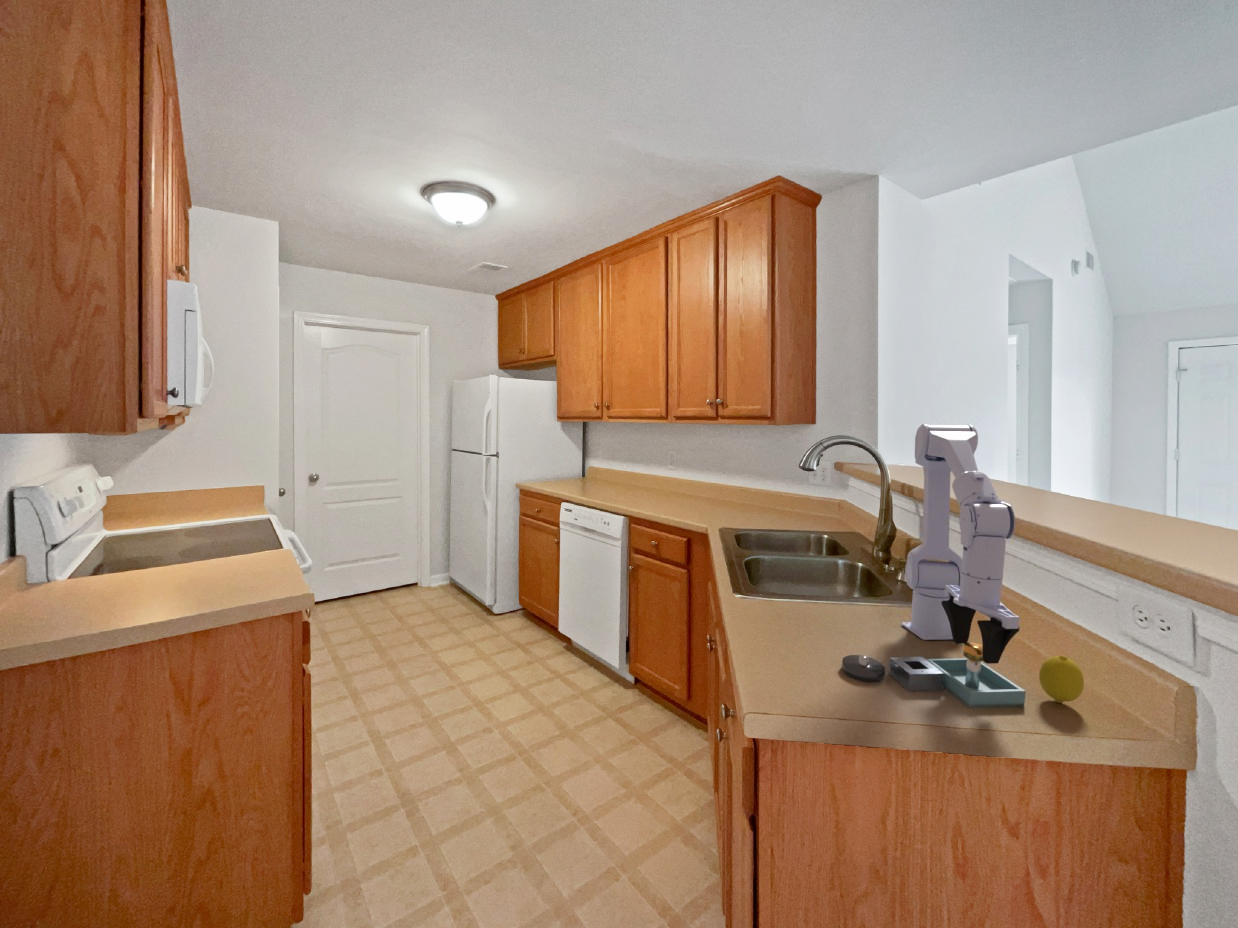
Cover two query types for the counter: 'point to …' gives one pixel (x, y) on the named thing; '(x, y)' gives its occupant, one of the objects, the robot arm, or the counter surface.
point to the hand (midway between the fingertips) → (974, 652)
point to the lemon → (1061, 679)
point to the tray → (990, 689)
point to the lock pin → (973, 663)
